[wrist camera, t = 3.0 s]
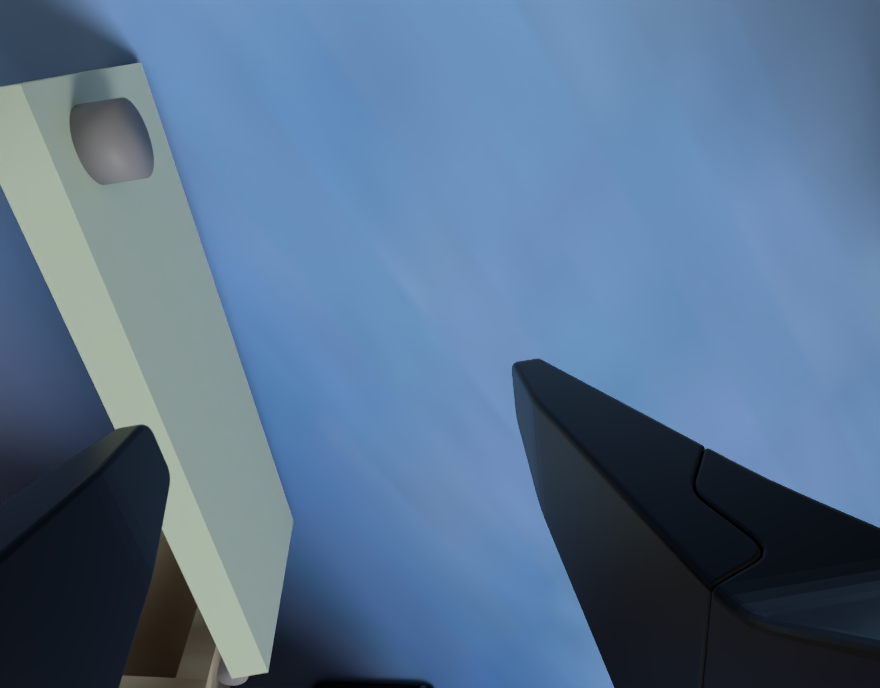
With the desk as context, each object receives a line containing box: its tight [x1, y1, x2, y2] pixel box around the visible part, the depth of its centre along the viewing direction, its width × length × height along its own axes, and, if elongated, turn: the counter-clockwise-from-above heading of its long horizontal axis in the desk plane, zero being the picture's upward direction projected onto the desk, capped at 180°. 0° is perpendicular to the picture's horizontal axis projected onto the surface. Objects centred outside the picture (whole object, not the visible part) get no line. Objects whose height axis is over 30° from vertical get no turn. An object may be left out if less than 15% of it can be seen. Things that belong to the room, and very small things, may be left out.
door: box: [0, 62, 293, 686], centre depth 19 cm, size 18×3×7 cm, turn 8°
